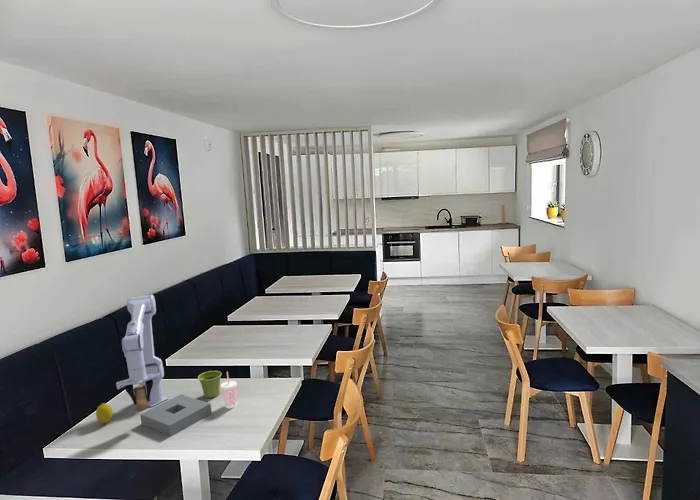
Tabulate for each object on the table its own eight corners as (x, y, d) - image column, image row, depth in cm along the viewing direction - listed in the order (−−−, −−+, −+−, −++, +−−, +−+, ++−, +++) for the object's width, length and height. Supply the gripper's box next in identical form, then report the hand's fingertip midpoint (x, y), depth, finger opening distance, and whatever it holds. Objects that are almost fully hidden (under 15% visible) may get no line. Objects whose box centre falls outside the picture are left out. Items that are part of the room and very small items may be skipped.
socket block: (141, 424, 181) (140, 414, 180) (182, 403, 196) (181, 394, 195) (171, 436, 171) (169, 425, 170) (211, 413, 185) (210, 403, 185)
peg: (134, 409, 178) (131, 388, 177) (144, 404, 182) (141, 384, 180) (140, 411, 176) (137, 391, 175) (150, 407, 179) (147, 386, 178)
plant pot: (214, 388, 208) (211, 369, 207) (228, 392, 203) (226, 373, 201) (195, 397, 201) (193, 377, 199) (210, 402, 195) (207, 381, 194)
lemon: (117, 420, 186) (114, 400, 185) (105, 427, 181) (102, 407, 180) (106, 418, 188) (102, 399, 186) (94, 426, 183) (91, 406, 181)
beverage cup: (220, 408, 189) (215, 374, 187) (229, 401, 195) (225, 368, 192) (233, 410, 187) (229, 375, 185) (242, 402, 192) (238, 369, 190)
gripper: (114, 375, 170) (120, 411, 172) (158, 365, 176) (163, 401, 178) (114, 368, 176) (120, 403, 178) (157, 359, 182) (162, 393, 184)
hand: (141, 401), depth 178 cm, fingers closed on peg, 4 cm apart
